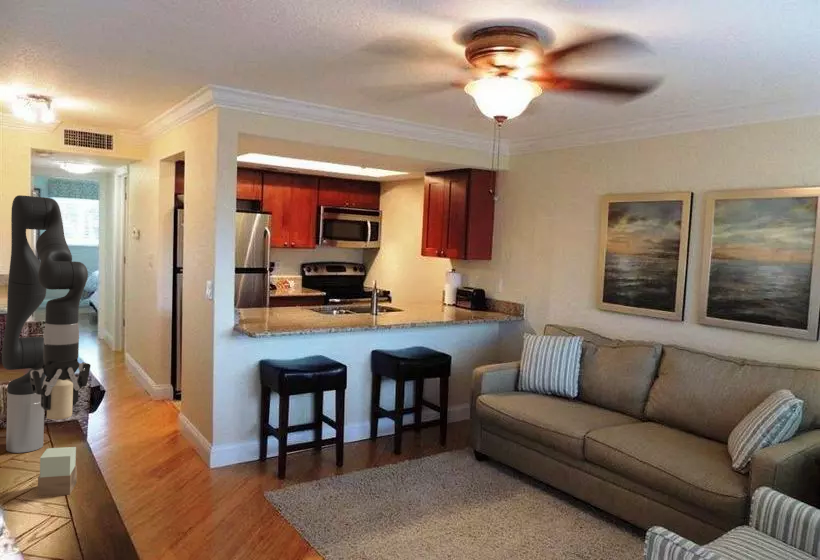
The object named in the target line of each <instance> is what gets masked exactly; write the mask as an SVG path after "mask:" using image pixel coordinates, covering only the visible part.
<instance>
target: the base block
mask: <svg viewBox="0 0 820 560" xmlns="http://www.w3.org/2000/svg"><path fill="white" fill-rule="evenodd" d="M77 469H78V465H77V464H75V467H74V469H73V471H72V473H71V474H70V476H56V477H41V478H40V475H39V476H38V477H37V498H39V497H40V496H41V497H53V496H56V497H57V496H68V495H69V496H70V495H71V493H72V491H73V490H74V488H75V486H76V484H77V478H78V477H77V476H78V474H77V471H78V470H77Z"/></svg>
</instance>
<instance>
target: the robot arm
mask: <svg viewBox="0 0 820 560" xmlns="http://www.w3.org/2000/svg"><path fill="white" fill-rule="evenodd" d="M10 219H11V222H10V223H11V226H10V230H11V235H10V236H11V237H10V238H11V240H10V241H11V243H10V244H11V245H10V246H11V251H10V261H9V271H8V283H7V306H6V307H7V309H6V310H7V312H6V322H5V327H4V328H5V329H4V335H3V340H2V341H3V342H2V350H1V363H2V367H3V368H4V369H6V370H8V371H14V370H15V371H16V370H26V369H29V371H28V372H26V373H25V374H24V375H22V376H20V377H17V378H15V379H13V380H11V381H9V382H8V384H7V394H6V395H7V399H6V402H7V403H6V404H7V405H6V434H5V435H6V437H5V438H6V439H5V442H6V443H5V445H6V446H5V447H6V448H5V451H7V452H9V453H15V454H17V453H18V454H20V453H29V452H33V451H36V450H40V449H41V448H42V447H44V435H45V433H44V432H45V428H44V427H45V411H47V410H50V408H51V395H49V394H50V393H51V390H52V387H54V386H55V384H56V382H57V380H58V379H61V380H66V379H70V380H71V381H72V383H73V406H76V405H77V403H78V402H79V390H80V389H81V388H85V387H86V386H87V384H88V380H89V375H90V371H91V364H90V363H88V362H84V361H83V362H79V360H78V359H79V350H80V349H79V346H80V343H79V342H80V329H79V328H80V327H79V314H80V313H79V309H80V303H81V299H82V297H83V296H82V295H83V293H84V290H85V287H86V284H87V282H88V278H89V277H88V276H89V272H88V268H87V267H86V265H85V264H84V263H83V262H80V261H73V255H72V253H71V250H70V248H69V246H68V243H67V241H66V237H65V230H64V222H63V217H62V212H61V208H60V205H59V203H58V202H57V201H56V200H55V199H54V198H50V197H43V196H33V195H32V196H31V195H17V196H15V197H14V198H13V201H12V204H11V217H10ZM27 230H34V231H35V230H37V231H43V232H42V233H41V234H40V235H39V236H38V238H37V239H36V243H35V248H36V252H37V255H38V257H37V256H36V254H35V252H34V251H33V249H32V247H31V245H30V243H29V241H28V237H27ZM47 290H52V291H53V290H68V292H67V293H66V294H65V296H61V297H59V298H58V297H57V298H52V299H50V300H48V301H47V302H46V305H45V323H44V324H45V325H44V329H43V330H44V331H43V336H26V337H20V336H21V332H22V329H23V327H24V326H25V324H26V323H27V321H28V320H29V319H30V317H31V316H32V315H33V314H34V313H35V312H36V311H37V309H38V308H40V306H42V305H41V304H42V303H43V302H44V300H45V298H46V296H47ZM77 371H79V372H78V376H77V377H76V374H75V373H76V372H77Z"/></svg>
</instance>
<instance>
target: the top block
mask: <svg viewBox="0 0 820 560" xmlns="http://www.w3.org/2000/svg"><path fill="white" fill-rule="evenodd" d="M76 455H77V447H76V446H71V447H69V446H67V447H49V448H48V447H47V448H46V450H45V451H44V452H43V453H42V455H41V456H40V457H39V476H40V478H41V477H56V476H70V474H71V473H72V471H73V469H74V467H75V465H76V461H77V460H76V458H77V456H76Z"/></svg>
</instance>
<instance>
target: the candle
mask: <svg viewBox="0 0 820 560" xmlns="http://www.w3.org/2000/svg"><path fill="white" fill-rule="evenodd" d="M49 395H51V408H50V410H46V418H47V419H49V420H57V421H58V420H64V419H69V418H71V417H72V416H73V406H74V405H73V383H72V381H71V380H70V379H66V380H61V379H58V380H57V382H56V384H55V386H54V387H52V390H51V393H50V394H49Z"/></svg>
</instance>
